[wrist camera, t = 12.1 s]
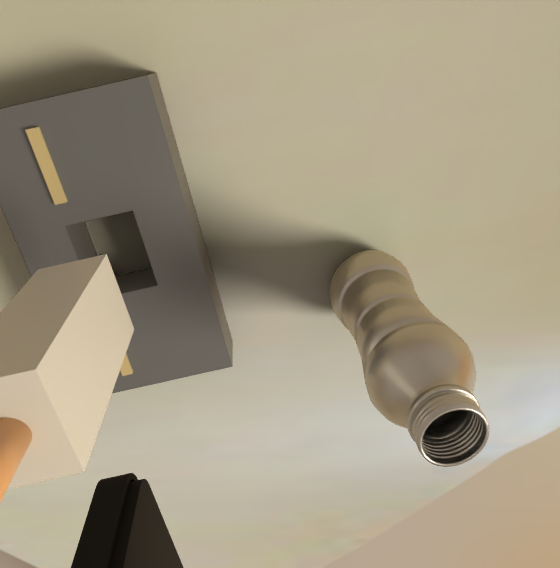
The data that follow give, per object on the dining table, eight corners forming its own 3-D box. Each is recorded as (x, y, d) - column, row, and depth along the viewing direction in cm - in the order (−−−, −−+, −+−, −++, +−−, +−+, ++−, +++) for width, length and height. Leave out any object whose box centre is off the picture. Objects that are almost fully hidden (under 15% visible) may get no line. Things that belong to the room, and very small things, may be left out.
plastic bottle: (313, 304, 45) (368, 476, 27) (343, 231, 43) (425, 366, 25) (382, 323, 47) (478, 500, 28) (415, 254, 44) (543, 398, 26)
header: (-12, 111, 37) (-41, 118, 33) (156, 72, 37) (147, 75, 33) (96, 371, 46) (84, 401, 42) (232, 341, 46) (232, 368, 42)
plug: (38, 269, 30) (-141, 472, 16) (106, 254, 30) (-10, 443, 16) (70, 343, 33) (-63, 584, 18) (134, 329, 32) (54, 558, 18)
